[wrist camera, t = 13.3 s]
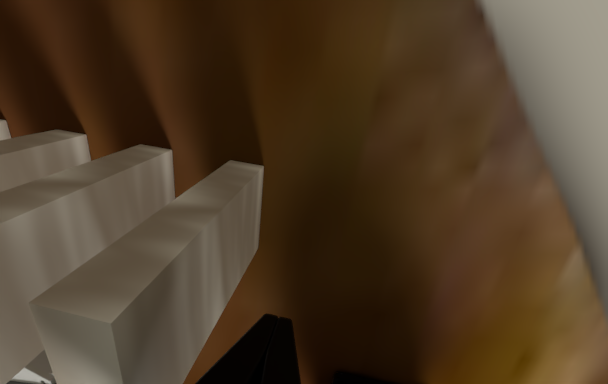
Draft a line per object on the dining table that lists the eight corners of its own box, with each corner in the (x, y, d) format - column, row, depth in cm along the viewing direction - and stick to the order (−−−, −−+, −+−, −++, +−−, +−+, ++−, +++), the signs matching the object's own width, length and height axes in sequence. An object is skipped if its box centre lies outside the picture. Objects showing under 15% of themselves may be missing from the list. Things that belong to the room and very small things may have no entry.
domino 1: (264, 166, 15) (111, 323, 6) (258, 247, 17) (138, 461, 8) (230, 160, 15) (28, 302, 6) (228, 241, 17) (77, 442, 8)
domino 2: (172, 149, 15) (-106, 269, 6) (177, 231, 17) (-26, 411, 8) (140, 144, 15) (-174, 251, 6) (149, 225, 17) (-80, 395, 8)
